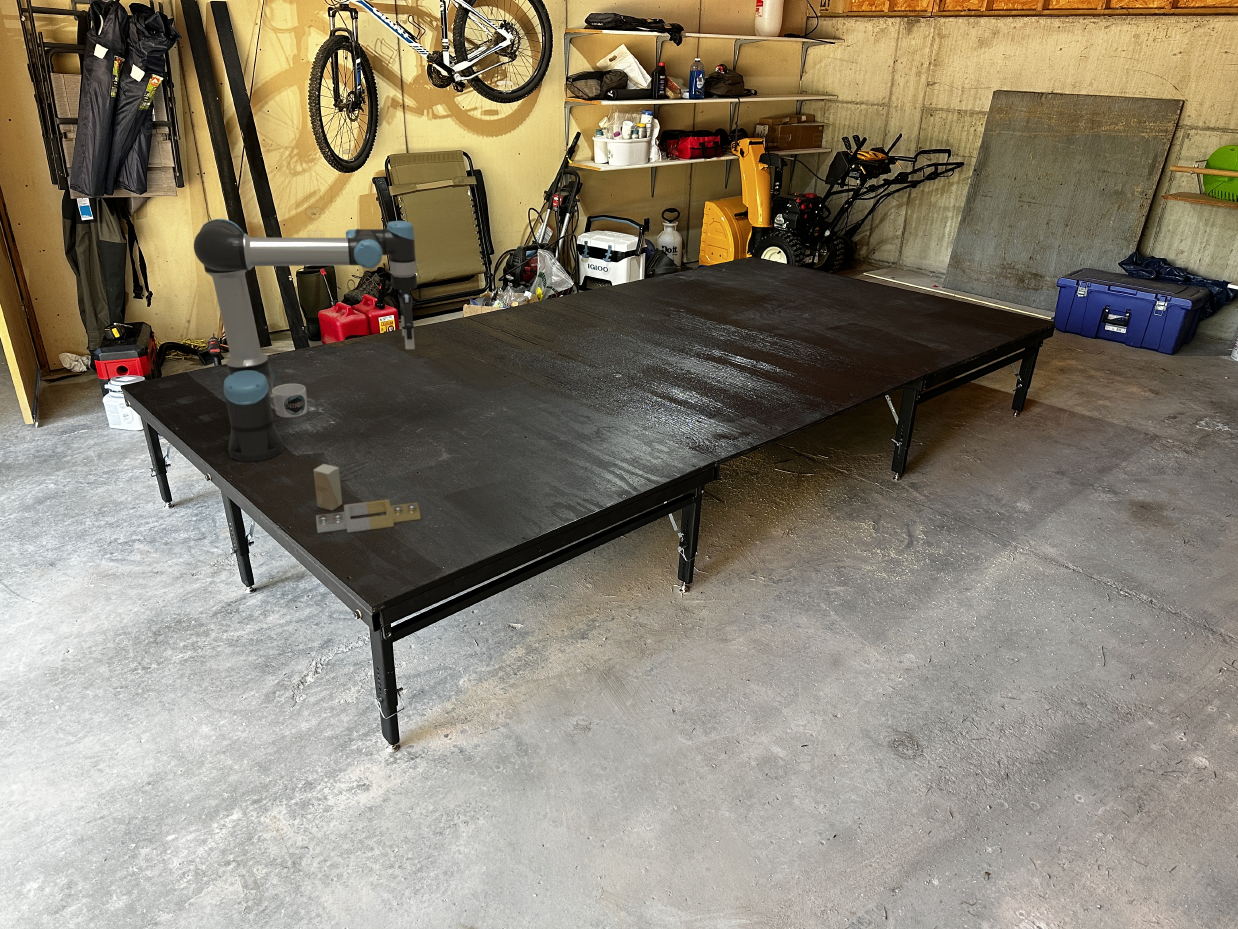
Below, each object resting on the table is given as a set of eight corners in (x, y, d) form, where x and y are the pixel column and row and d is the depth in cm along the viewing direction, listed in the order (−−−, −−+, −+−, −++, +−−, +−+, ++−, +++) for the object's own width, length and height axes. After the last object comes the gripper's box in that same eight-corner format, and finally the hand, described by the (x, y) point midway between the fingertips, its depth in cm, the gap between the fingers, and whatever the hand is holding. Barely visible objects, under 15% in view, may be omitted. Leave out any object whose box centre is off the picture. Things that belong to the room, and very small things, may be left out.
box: (316, 507, 221) (311, 469, 216) (327, 499, 224) (322, 462, 220) (333, 511, 219) (328, 473, 214) (343, 503, 223) (339, 466, 218)
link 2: (370, 529, 211) (369, 519, 210) (367, 512, 219) (366, 502, 218) (421, 522, 216) (420, 512, 214) (416, 505, 223) (415, 495, 222)
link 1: (317, 536, 207) (316, 526, 206) (316, 518, 215) (315, 508, 214) (370, 529, 211) (369, 519, 210) (367, 512, 219) (366, 502, 218)
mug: (296, 403, 283) (292, 381, 280) (315, 411, 278) (312, 388, 274) (260, 415, 273) (256, 392, 270) (280, 423, 268) (276, 400, 264)
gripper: (420, 284, 243) (424, 353, 252) (412, 264, 264) (417, 329, 273) (393, 284, 241) (398, 355, 250) (388, 265, 262) (393, 330, 271)
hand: (408, 342), depth 262 cm, fingers open, 13 cm apart
